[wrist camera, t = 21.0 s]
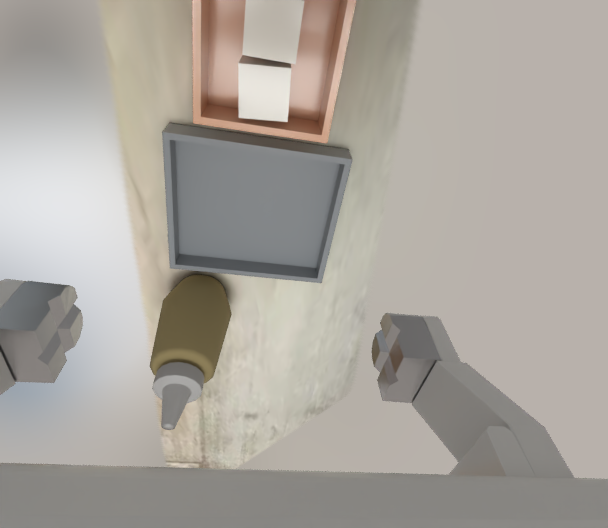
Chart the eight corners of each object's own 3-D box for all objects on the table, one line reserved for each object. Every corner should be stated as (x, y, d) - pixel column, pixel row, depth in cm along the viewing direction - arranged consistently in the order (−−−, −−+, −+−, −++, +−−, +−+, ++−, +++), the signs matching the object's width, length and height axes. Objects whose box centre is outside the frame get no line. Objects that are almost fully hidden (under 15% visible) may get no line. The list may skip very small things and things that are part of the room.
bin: (203, -50, 28) (191, -54, 24) (350, -19, 29) (360, -18, 26) (202, 107, 34) (193, 123, 31) (322, 126, 36) (327, 143, 32)
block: (242, 54, 32) (238, 63, 28) (290, 59, 32) (291, 68, 29) (242, 104, 34) (238, 117, 31) (287, 108, 34) (287, 122, 31)
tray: (169, 122, 35) (162, 131, 33) (348, 149, 38) (352, 159, 35) (175, 254, 44) (169, 268, 42) (319, 269, 46) (321, 282, 44)
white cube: (250, -13, 29) (246, -11, 26) (301, -2, 29) (304, 0, 26) (246, 46, 31) (242, 54, 28) (294, 55, 32) (295, 64, 29)
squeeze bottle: (247, 294, 48) (233, 428, 34) (203, 323, 51) (172, 458, 37) (200, 255, 44) (162, 387, 30) (155, 288, 47) (99, 424, 33)
